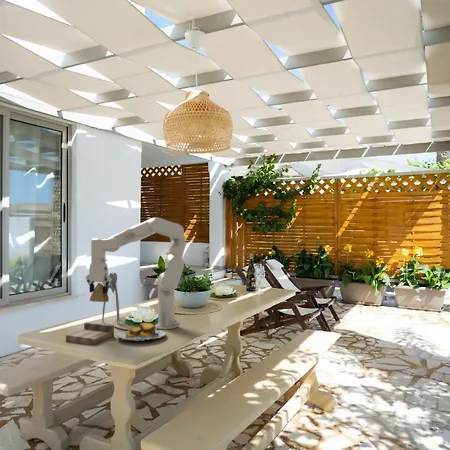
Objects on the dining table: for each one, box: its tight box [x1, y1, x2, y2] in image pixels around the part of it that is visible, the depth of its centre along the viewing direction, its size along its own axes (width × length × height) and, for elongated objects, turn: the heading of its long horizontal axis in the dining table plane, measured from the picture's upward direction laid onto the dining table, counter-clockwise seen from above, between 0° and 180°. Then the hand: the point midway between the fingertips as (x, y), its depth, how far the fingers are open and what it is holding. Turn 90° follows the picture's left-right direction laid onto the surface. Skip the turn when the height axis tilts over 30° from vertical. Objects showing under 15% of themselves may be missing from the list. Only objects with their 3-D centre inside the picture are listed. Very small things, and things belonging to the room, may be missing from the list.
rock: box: [89, 282, 109, 303], centre depth 235 cm, size 11×9×10 cm
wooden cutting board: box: [65, 321, 115, 346], centre depth 223 cm, size 18×16×6 cm
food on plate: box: [115, 322, 167, 342], centre depth 225 cm, size 25×25×7 cm
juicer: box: [101, 271, 120, 325], centre depth 261 cm, size 10×11×30 cm
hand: (98, 292), depth 235 cm, fingers closed on rock, 8 cm apart
